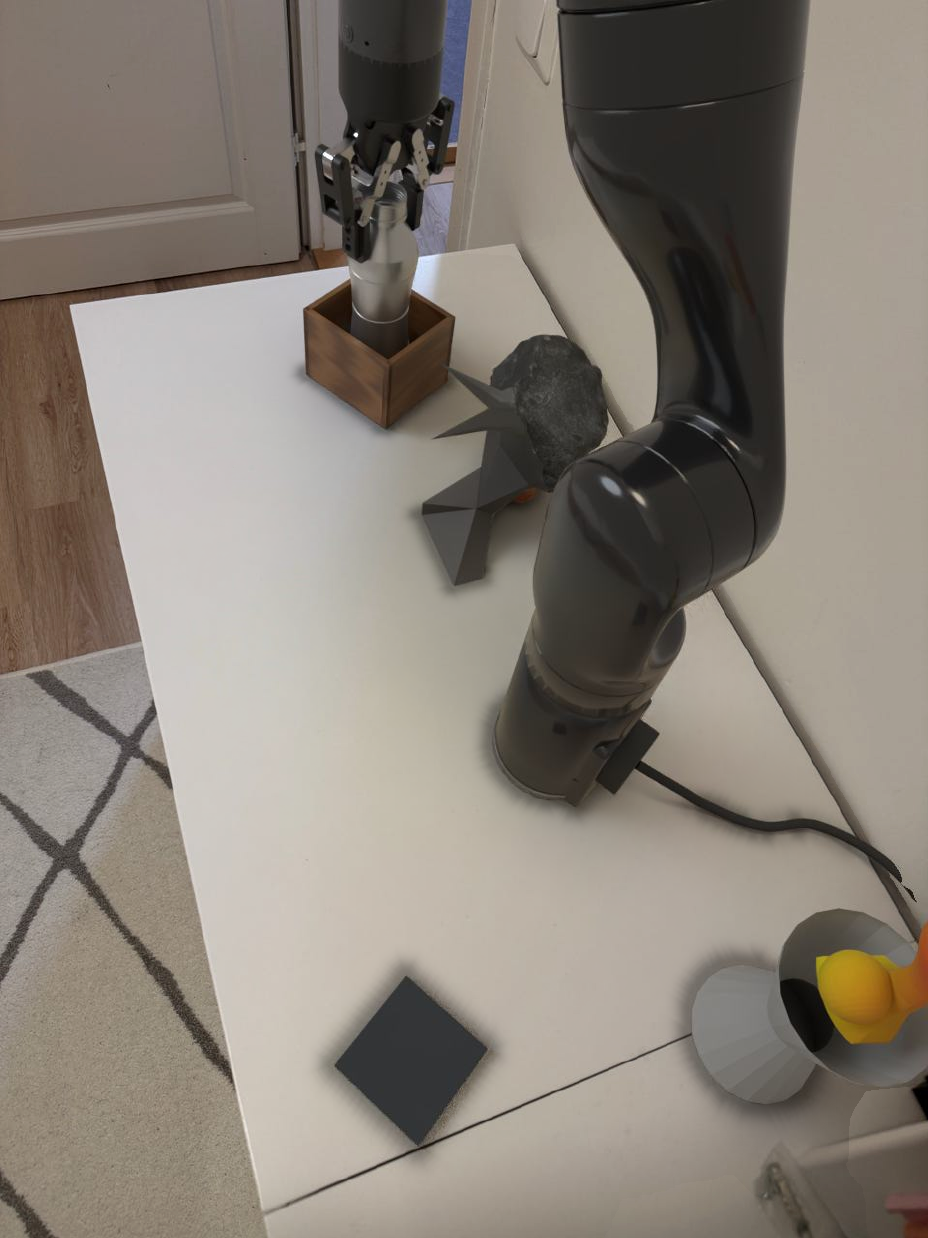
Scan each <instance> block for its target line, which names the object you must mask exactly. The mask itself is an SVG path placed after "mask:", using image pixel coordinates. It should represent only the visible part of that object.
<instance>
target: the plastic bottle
mask: <svg viewBox="0 0 928 1238" xmlns="http://www.w3.org/2000/svg"><path fill="white" fill-rule="evenodd" d="M406 218H407V192H406V190H405V189H404V188H403V187H402V186H401V185H400V184H398V182H395V181H393V180H392V181H391V180H389V179H388V180H387V183H386V187H385V190H384V193H383V196H382V197H381V198H378V199H376V200H375V203H374V206H373V210H372V213H371V216H370V219H369V222H370V248H369V259H368V260H367V261H365V262H364V263H362V264H361V263H359V262H357V261H355V260H354V259H352V258H351V257H349V256H348V255H347V254H346V259H347V265H348V266H347V267H348V272H349V279H350V280H351V290H352V320H351V330H350V335H352V336H353V337H355V338H356V339H358V340H359V341H361V342H362V343H364V344H365V345H367V346H368V347H370V348H371V349H373V350H374V351H376V352H377V353H379V354H380V355H382V356H383V357H385V358H386V359H388V360H389V359H390V358H392V357H393V356H394V355H396V354H397V353H398V352H400V351H401V350H403V349H404V348H405V347H407V346H408V345H409V339H408V309H409V302H410V295H411V289H412V288H413V285H414V281H415V276H416V271H417V268H418V264H419V258H420V249H419V245H418V241H417V237H416V236H415V234H414V231H412V230H411V229H410V227H409V225H408V224H407V223H406V221H405V220H406ZM412 290H413V289H412Z"/></svg>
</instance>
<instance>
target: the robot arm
mask: <svg viewBox="0 0 928 1238" xmlns="http://www.w3.org/2000/svg"><path fill="white" fill-rule="evenodd" d="M448 1H449V0H337V14H338V15H337V23H338V24H337V25H338V26H337V45H338V46H337V47H338V48H337V49H338V50H337V51H338V52H337V53H338V56H337V57H338V58H337V59H338V61H337V62H338V68H337V69H338V73H337V76H338V79H337V81H338V84H337V85H338V86H337V87H338V93H339V96H340V98H341V101H342V103H343V105H344V107H345V110H346V116H347V118H346V124H345V127H344V130H343V133H342V140H340V141H338V143H336V144H335V145H334V146H332V147H329V146H328V145H325V144H324V143H320V144H318V145H317V147H316V148H315V151H314V163H315V170H316V177H317V186H318V193H319V199H320V200H319V201H320V206H321V213H322V215H324V216H325V217H327V218H329V219H330V220H332V221H333V222H335V223H337V224H338V225H340V226H341V237H342V238H341V241H342V242H341V248H342V252H343V253H344V254H346V256H347V255H348V256H349V257H351V258H352V259H354V260H355V261H357V262H359V263H361V264H362V263H364V262H365V261H367V260H368V259H369V248H370V222H369V219H370V216H371V213H372V210H373V206H374V203H375V200H376V199H378V198H381V197H382V196H383V193H384V190H385V187H386V183H387V180H388V181H389V177H391V175H392V174H394V173H395V172H396V171H397V172H398V175H399V177H400V178H401V180H399V181H397V183H398V184H400V185H401V186H402V187H403V188H404V189H405V190H406V192H407V218H406V220H405V221H406V223H407V224H408V225H409V227H410V229H411V230H412V232H414V231H416V230H418V229H419V228H420V227H421V219H422V216H423V206H424V195H425V190H426V189H428V187H429V185H430V181H431V176H433V174H434V175H436V176H438V175H440V174H441V173H442V172H443V170H444V167H445V162H446V156H447V151H448V145H449V140H450V135H451V129H452V124H453V117H454V111H455V108H456V107H455V106H456V104H455V103H456V102H455V100H453V99H452V98H449V97H448V96H447V95H445V94H443V93H441V85H442V83H441V82H442V73H443V71H442V70H443V60H444V49H445V39H446V38H445V37H446V28H447V27H446V26H447V15H448V3H449V2H448ZM555 6H556V8H557V9H558V10H557V12H556V22H557V39H558V55H559V56H558V57H559V73H560V89H561V100H562V102H561V104H562V114H563V124H564V133H565V139H566V144H567V151H568V154H569V157H570V160H571V163H572V167H573V169H574V172H575V175H576V177H577V179H578V181H579V184H580V186H581V188H582V190H583V192H584V194H585V196H586V198H587V200H588V201H589V204H590V205H591V207H592V209H593V211H594V212H595V215H596V216H597V218H598V219H599V222H600V223H601V225H602V226H603V228H604V229H605V231H606V232H607V234H608V236H609V237H610V239H611V240H612V242H613V243H614V245H615V246H616V248H617V250H618V251H619V252H620V254H621V256H622V257H623V259H624V260H625V262H626V263H627V265H628V267H629V268H630V270H631V272H632V273H633V275H634V276H635V279H636V280H637V282H638V283H639V285H640V287H641V289H642V291H643V293H644V297H645V299H646V301H647V303H648V306H649V311H650V313H651V317H652V323H653V328H654V334H655V347H656V371H657V372H656V373H657V374H656V396H655V397H656V398H655V407H654V412H653V416H652V418H651V421H650V423H648V424H646V425H644V426H642V427H640V428H637V429H636V430H634V431H632V432H630V433H627V434H625V435H623V436H621V437H619V438H617V439H615V440H614V441H611V442H610V443H608V444H606V445H604V446H602V447H598V448H596V449H595V450H593V451H591V452H590V453H589V454H587V455H585V456H583V457H581V458H580V459H578V460H576V461H575V462H574V463H572V464H571V465H570V466H569V467H568V468H567V469H566V470H565V471H564V473H563V474H562V476H561V477H560V479H559V480H558V482H557V484H556V486H555V488H554V490H553V492H551V494H550V498H549V500H548V504H547V508H546V512H545V515H544V521H543V524H542V530H541V534H540V537H539V543H538V548H537V552H536V557H535V560H534V565H533V571H532V594H533V603H534V610H533V613H532V617H531V620H530V622H529V625H528V628H527V631H526V633H525V636H524V640H523V642H522V646H521V649H520V652H519V654H518V657H517V661H516V663H515V666H514V669H513V673H512V676H511V678H510V681H509V684H508V688H507V690H506V694H505V696H504V699H503V703H502V705H501V707H500V709H499V713H498V715H497V716H496V720H495V722H494V726H493V730H492V749H493V753H494V758H495V759H496V762H497V764H498V766H499V768H500V769H501V771H502V773H503V774H504V775H505V776H506V778H507V779H508V780H509V781H510V782H511V783H512V784H513V785H514V786H516V787H517V788H518V789H520V790H522V791H523V792H525V793H526V794H529V795H530V796H532V797H537V798H539V799H543V800H548V801H565V802H567V804H569V805H571V806H572V807H574V808H578V807H579V806H580V805H581V803H582V802H583V801H584V800H585V798H586V797H587V796H588V795H589V794H590V792H591V791H592V789H594V788H595V786H596V785H597V784H599V785H600V786H601V787H603V788H604V789H606V790H607V791H608V792H609V793H611V794H612V795H613V796H615V795H616V794H617V793H618V791H619V790H620V789H621V787H622V786H623V785H624V784H625V782H626V781H627V779H628V778H629V777H630V775H632V773H633V772H634V770H636V771H637V772H639V773H640V774H642V775H644V776H646V778H649V779H651V780H653V781H654V782H656V783H657V784H659V785H660V786H662V787H664V788H665V789H667V790H669V791H671V792H672V793H674V794H675V795H677V796H680V797H681V798H682V799H684V800H686V801H687V802H689V803H690V804H692V805H694V806H696V807H698V808H700V809H702V810H704V811H706V812H708V813H710V814H712V815H714V816H716V817H719V818H721V819H723V820H725V821H728V822H730V823H732V824H735V825H737V826H741V827H743V828H747V829H750V830H754V831H760V832H764V833H765V832H768V833H775V832H785V831H790V830H798V829H806V830H812V831H817V832H820V833H823V834H825V835H828V836H829V837H833V838H835V839H837V840H839V841H841V842H844V843H845V844H847V845H849V846H851V847H853V848H855V849H856V850H857V851H859V852H861V853H862V854H864V855H866V856H867V857H869V858H870V859H872V860H873V861H874V862H875V863H877V864H878V865H880V866H881V867H882V868H884V870H886V871H887V872H888V873H889V874H890V875H891V876H892V877H893V878H894V879H895V880H896V881H898V883H899V884H900V886H902V887H903V888H904V890H905V891H906V892H907V893H908V895H909V896H910V899H911V900H913V901H914V902H915V903H917V901H916V900H915V898H914V895H913V892H912V891H911V890H910V889H908V888H906V887H905V886H903V885H902V884H901V882H902V877H901V874H900V872H899V870H898V869H897V867H896V866H895V864H896V863H895V862H894V861H893V860H892V859H890V858H889V857H888V856H887V855H885V854H884V853H883V852H881V851H880V850H878V849H877V848H875V847H874V846H872V845H871V844H869V843H868V842H866V841H864V840H863V839H861V838H860V837H857V836H856V835H854V834H852V833H850V832H849V831H846V830H843V829H842V828H839V827H836V826H834V825H832V824H829V823H826V822H824V821H821V820H817V819H813V818H805V817H803V818H792V819H786V820H779V821H766V820H759V819H755V818H751V817H748V816H744V815H742V814H739V813H737V812H734V811H732V810H729V809H728V808H725V807H723V806H722V805H719V804H717V803H715V802H712V801H711V800H708V799H706V798H704V797H702V796H700V795H698V794H697V793H696V792H694V791H692V790H691V789H689V788H687V786H685V785H682V784H681V783H679V782H678V781H676V780H674V779H673V778H671V777H669V776H667V775H666V774H664V773H662V772H661V771H659V770H658V769H656V768H654V767H653V766H650V765H649V764H647V763H646V762H644V761H642V759H643V758H644V757H645V755H646V754H648V752H649V750H650V749H651V748H652V746H653V745H654V744H655V742H656V740H657V739H658V738H659V736H660V735H661V733H660V732H659V731H658V730H656V729H655V728H654V727H652V726H651V725H650V724H648V722H647V723H646V722H645V721H644V720H643V717H644V716H645V714H646V713H647V711H648V709H650V706H651V705H652V703H653V699H652V697H653V696H654V694H655V693H656V691H657V689H659V686H660V685H661V683H662V682H663V680H664V678H665V677H666V676H667V674H668V672H669V671H670V670H671V668H672V666H673V665H674V663H675V661H676V659H678V656H679V655H680V653H681V651H682V648H683V646H684V642H685V639H686V636H687V635H686V634H687V616H686V612H685V608H684V607H686V606H688V605H689V604H690V603H692V602H694V601H695V600H697V599H699V598H701V597H702V596H704V595H706V594H707V593H709V592H710V591H712V590H714V589H715V588H717V587H719V586H720V585H722V584H723V583H725V582H726V581H728V580H730V579H732V578H733V577H735V576H736V575H738V574H739V573H741V572H743V571H744V570H745V569H747V568H748V567H750V566H751V565H753V564H754V563H755V562H756V561H758V560H759V559H760V558H761V557H762V556H763V554H765V553H766V551H767V550H768V549H769V548H770V546H771V544H772V543H773V542H774V540H775V538H776V537H777V534H778V532H779V530H780V526H781V523H782V519H783V516H784V510H785V505H786V504H785V503H786V502H785V501H786V492H787V490H786V489H787V431H786V430H787V429H786V427H787V426H786V393H785V392H786V389H785V342H784V341H785V310H786V309H785V308H786V290H787V276H788V263H789V251H790V250H789V247H790V232H791V213H792V197H793V181H794V169H795V168H794V165H795V153H796V144H797V135H798V126H799V119H800V110H801V102H802V95H803V86H804V80H805V79H804V78H805V72H804V71H805V70H806V58H807V57H806V56H807V46H808V33H809V22H810V13H811V12H810V11H811V0H555ZM429 142H430V143H432V144H433V154H432V153H430V152H429V151H428V148H429ZM359 169H360V170H361V171H362V172H364V173H365V174H367V175H369V176H371V177H372V181H371V182H370V181H369V180H367V179H366V178H364V177H362V176H361V175H360V172H359ZM357 192H359V193H361V196H362V197H361V199H360V202H359V204H356V203H354V201H355V197H356V194H357ZM892 861H893V862H894V863H895V864H894V863H893V862H892Z"/></svg>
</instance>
